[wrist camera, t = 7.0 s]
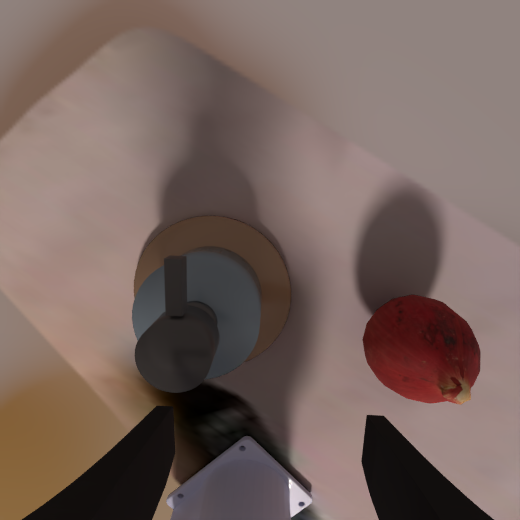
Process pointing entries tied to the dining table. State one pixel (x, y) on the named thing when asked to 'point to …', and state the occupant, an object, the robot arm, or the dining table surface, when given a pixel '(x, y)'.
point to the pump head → (177, 337)
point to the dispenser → (219, 285)
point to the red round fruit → (422, 350)
